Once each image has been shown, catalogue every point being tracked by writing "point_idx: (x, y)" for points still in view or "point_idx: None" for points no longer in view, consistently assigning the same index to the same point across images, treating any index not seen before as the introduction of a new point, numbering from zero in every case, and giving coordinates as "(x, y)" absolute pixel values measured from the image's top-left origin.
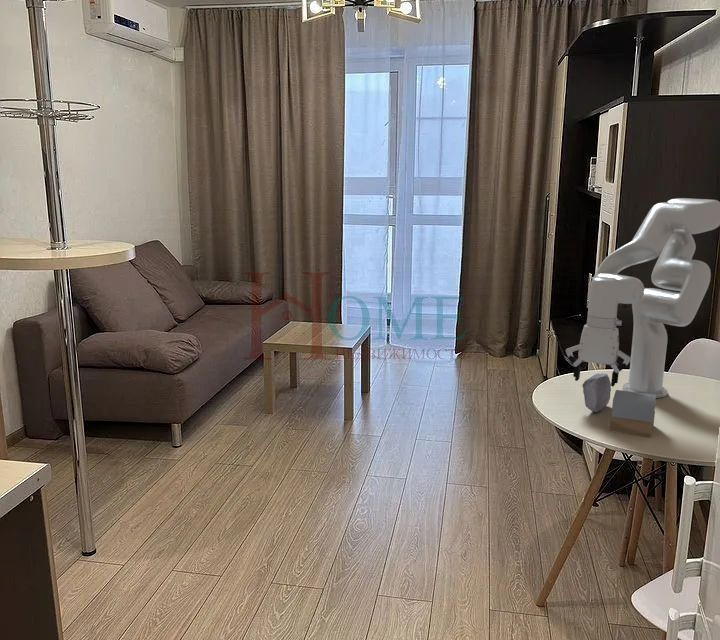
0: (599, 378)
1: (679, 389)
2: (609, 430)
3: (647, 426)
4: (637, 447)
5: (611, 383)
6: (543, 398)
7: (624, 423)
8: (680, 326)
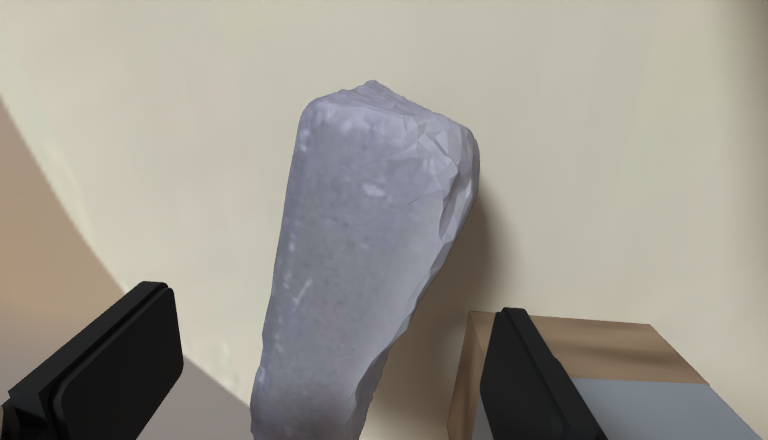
0: (370, 367)
1: None
2: (447, 428)
3: None
4: None
5: (487, 410)
6: (43, 114)
7: None
8: None
